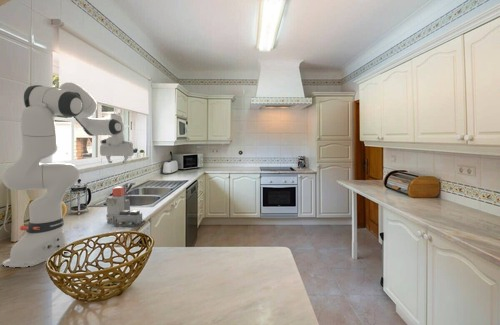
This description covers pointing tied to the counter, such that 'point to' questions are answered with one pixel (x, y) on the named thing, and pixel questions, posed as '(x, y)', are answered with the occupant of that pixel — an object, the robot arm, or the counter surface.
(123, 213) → the plunger
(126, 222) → the breaker panel
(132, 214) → the plunger
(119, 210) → the circuit breaker
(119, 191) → the red cube
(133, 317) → the counter surface
